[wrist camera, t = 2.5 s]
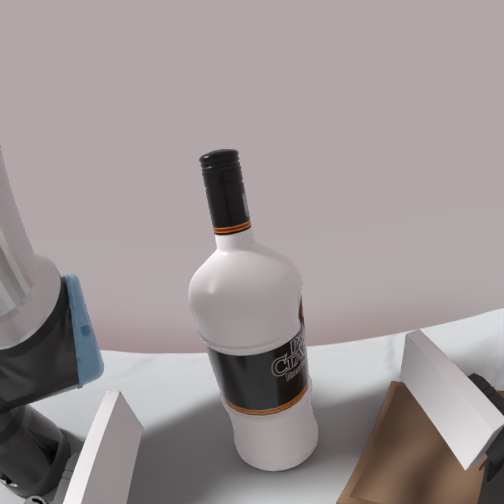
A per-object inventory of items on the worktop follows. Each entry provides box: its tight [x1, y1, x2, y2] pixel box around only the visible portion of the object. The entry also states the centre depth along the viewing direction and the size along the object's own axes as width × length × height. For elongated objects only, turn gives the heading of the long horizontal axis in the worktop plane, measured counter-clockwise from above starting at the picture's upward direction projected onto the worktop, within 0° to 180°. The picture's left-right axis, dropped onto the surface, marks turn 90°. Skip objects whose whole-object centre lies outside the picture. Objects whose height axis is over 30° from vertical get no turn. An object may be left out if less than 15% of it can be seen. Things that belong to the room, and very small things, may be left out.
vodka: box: [188, 149, 318, 471], centre depth 22 cm, size 9×9×30 cm
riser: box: [336, 381, 504, 504], centre depth 17 cm, size 16×16×4 cm
